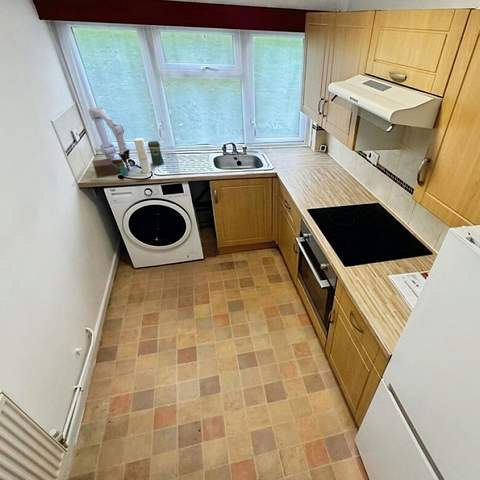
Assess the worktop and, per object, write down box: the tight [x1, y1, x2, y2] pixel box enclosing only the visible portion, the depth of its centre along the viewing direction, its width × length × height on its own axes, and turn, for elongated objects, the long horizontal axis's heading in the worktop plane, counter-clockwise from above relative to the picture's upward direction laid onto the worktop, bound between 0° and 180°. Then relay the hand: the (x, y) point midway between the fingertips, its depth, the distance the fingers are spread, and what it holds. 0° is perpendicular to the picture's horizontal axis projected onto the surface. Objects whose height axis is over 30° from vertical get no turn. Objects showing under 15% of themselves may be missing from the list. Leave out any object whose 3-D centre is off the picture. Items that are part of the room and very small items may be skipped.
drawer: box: [112, 158, 134, 174], centre depth 242 cm, size 17×13×7 cm
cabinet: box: [92, 158, 117, 178], centre depth 237 cm, size 14×15×9 cm
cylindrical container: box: [133, 137, 152, 174], centre depth 237 cm, size 7×7×25 cm
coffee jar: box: [147, 140, 165, 166], centre depth 254 cm, size 10×8×19 cm
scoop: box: [112, 164, 128, 177], centre depth 234 cm, size 9×5×10 cm, turn 119°
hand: (126, 160), depth 236 cm, fingers open, 7 cm apart
